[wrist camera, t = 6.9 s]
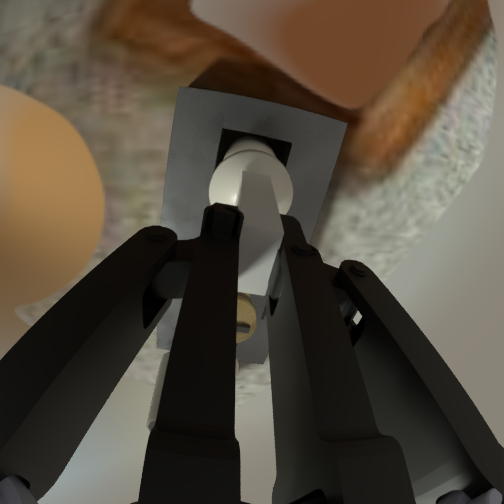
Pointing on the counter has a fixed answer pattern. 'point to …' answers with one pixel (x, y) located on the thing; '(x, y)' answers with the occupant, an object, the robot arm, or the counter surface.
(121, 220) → the counter surface
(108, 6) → the counter surface
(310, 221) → the panel
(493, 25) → the counter surface
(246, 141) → the knob
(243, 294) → the brass slotted knob
